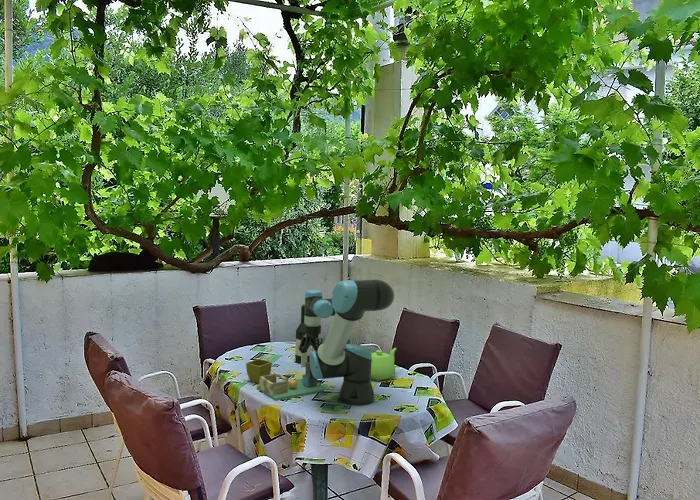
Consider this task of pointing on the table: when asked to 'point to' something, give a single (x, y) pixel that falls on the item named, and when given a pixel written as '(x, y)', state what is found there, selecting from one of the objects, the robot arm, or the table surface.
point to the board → (296, 391)
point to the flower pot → (258, 369)
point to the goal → (273, 384)
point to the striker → (309, 377)
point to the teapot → (382, 365)
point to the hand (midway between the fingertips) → (311, 371)
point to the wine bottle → (299, 336)
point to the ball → (292, 383)
